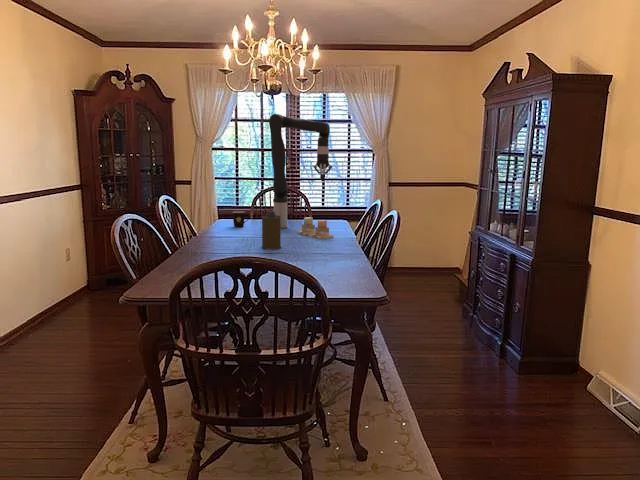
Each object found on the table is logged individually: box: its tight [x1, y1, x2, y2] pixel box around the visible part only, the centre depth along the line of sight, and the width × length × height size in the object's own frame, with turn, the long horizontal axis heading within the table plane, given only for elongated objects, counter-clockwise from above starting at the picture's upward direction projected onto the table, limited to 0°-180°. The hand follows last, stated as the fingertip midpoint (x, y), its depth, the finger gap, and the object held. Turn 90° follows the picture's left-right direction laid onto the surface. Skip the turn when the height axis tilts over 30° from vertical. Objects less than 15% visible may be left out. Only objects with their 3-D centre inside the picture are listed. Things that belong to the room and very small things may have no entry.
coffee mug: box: [232, 210, 252, 228], centre depth 355 cm, size 12×9×10 cm
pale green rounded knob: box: [303, 216, 314, 225], centre depth 331 cm, size 6×6×7 cm
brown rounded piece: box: [317, 219, 328, 228], centre depth 320 cm, size 6×6×7 cm
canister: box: [261, 210, 282, 250], centre depth 286 cm, size 11×10×20 cm
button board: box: [296, 223, 334, 240], centre depth 326 cm, size 24×10×6 cm, turn 39°
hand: (322, 180), depth 343 cm, fingers closed
